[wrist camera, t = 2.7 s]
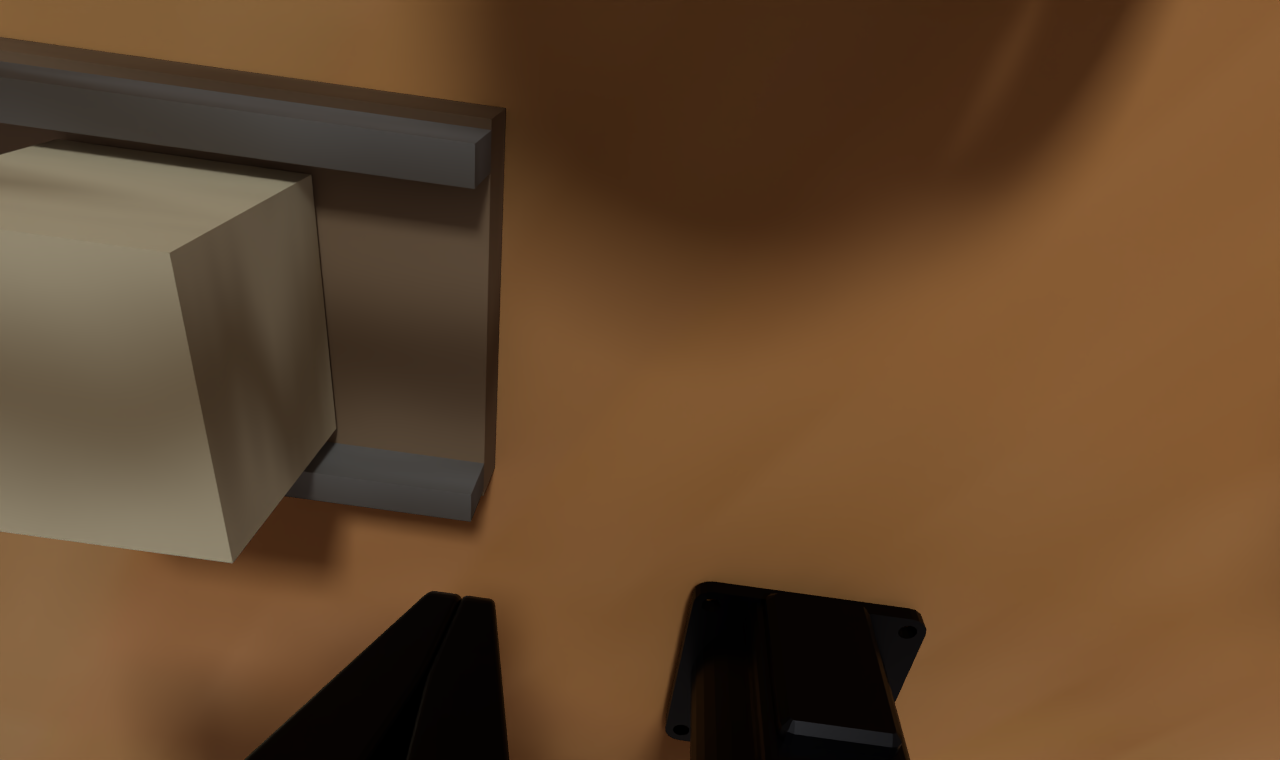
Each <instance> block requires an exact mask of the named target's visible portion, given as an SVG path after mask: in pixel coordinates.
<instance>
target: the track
mask: <svg viewBox="0 0 1280 760" xmlns="http://www.w3.org/2000/svg"><path fill="white" fill-rule="evenodd" d="M505 120H506V108H501V107H494V106H487V105H480V104H473V103H465V102H458V101H451V100H444V99H437V98H430V97H423V96H416V95H408V94H401V93H394V92H387V91H380V90H373V89H366V88H359V87H351V86H344V85H337V84H330V83H323V82H316V81H309V80H302V79H295V78H287V77H280V76H273V75H266V74H259V73H252V72H245V71H238V70H230V69H223V68H216V67H209V66H202V65H195V64H188V63H181V62H173V61H166V60H159V59H152V58H145V57H138V56H131V55H124V54H116V53H109V52H102V51H95V50H88V49H81V48H74V47H67V46H59V45H52V44H45V43H38V42H31V41H24V40H17V39H10V38H3V37H0V155H1V154H5V153H8V152H12V151H16V150H19V149H23V148H26V147H30V146H34V145H37V144H41V143H45V142H48V141H52V140H55V139H61V140H68V141H75V142H82V143H89V144H96V145H104V146H111V147H118V148H125V149H132V150H139V151H147V152H154V153H161V154H168V155H175V156H182V157H189V158H197V159H204V160H211V161H218V162H225V163H232V164H240V165H247V166H254V167H261V168H268V169H275V170H282V171H290V172H297V173H304V174H311V176H312V186H313V197H314V207H315V217H316V227H317V237H318V248H319V258H320V268H321V278H322V288H323V299H324V309H325V319H326V329H327V339H328V350H329V360H330V370H331V380H332V390H333V400H334V411H335V421H336V430H335V431H334V432H333V433H332V435H331V436H330V437H329V439H328V440H327V441H326V443H325V444H324V445H323V446H322V448H321V449H320V450H319V452H318V453H317V454H316V456H315V457H314V458H313V459H312V461H311V462H310V463H309V465H308V466H307V467H306V469H305V470H304V471H303V472H302V474H301V475H300V476H299V478H298V479H297V480H296V482H295V483H294V484H293V485H292V487H291V488H290V489H289V491H288V492H287V493H286V495H285V496H288V497H295V498H302V499H310V500H317V501H324V502H331V503H339V504H346V505H353V506H360V507H368V508H375V509H382V510H390V511H397V512H404V513H411V514H419V515H426V516H433V517H440V518H448V519H455V520H462V521H469V522H471V520H472V517H473V515H474V512H475V510H476V507H477V505H478V502H479V500H480V497H481V496H484V493H485V491H486V488H487V486H488V483H489V481H490V478H491V476H492V473H493V470H494V468H495V444H496V412H497V379H498V347H499V315H500V282H501V250H502V217H503V185H504V152H505Z"/></svg>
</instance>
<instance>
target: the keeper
mask: <svg viewBox="0 0 1280 760" xmlns="http://www.w3.org/2000/svg"><path fill="white" fill-rule="evenodd" d="M335 430H336V421H335V411H334V400H333V390H332V380H331V370H330V360H329V350H328V339H327V329H326V319H325V309H324V299H323V288H322V278H321V268H320V258H319V248H318V237H317V227H316V217H315V207H314V197H313V186H312V176H311V174H304V173H297V172H290V171H282V170H275V169H268V168H261V167H254V166H247V165H240V164H232V163H225V162H218V161H211V160H204V159H197V158H189V157H182V156H175V155H168V154H161V153H154V152H147V151H139V150H132V149H125V148H118V147H111V146H104V145H96V144H89V143H82V142H75V141H68V140H61V139H55V140H52V141H48V142H45V143H41V144H37V145H34V146H30V147H26V148H23V149H19V150H16V151H12V152H8V153H5V154H1V155H0V531H1V532H8V533H16V534H23V535H30V536H37V537H45V538H52V539H59V540H67V541H74V542H81V543H89V544H96V545H103V546H110V547H118V548H125V549H132V550H140V551H147V552H154V553H162V554H169V555H176V556H183V557H191V558H198V559H205V560H213V561H220V562H227V563H233V562H234V561H235V560H236V558H237V557H238V556H239V554H240V553H241V552H242V550H243V549H244V548H245V547H246V545H247V544H248V543H249V541H250V540H251V539H252V537H253V536H254V535H255V534H256V532H257V531H258V530H259V528H260V527H261V526H262V524H263V523H264V522H265V521H266V519H267V518H268V517H269V515H270V514H271V513H272V511H273V510H274V509H275V508H276V506H277V505H278V504H279V502H280V501H281V500H282V498H283V497H284V496H285V495H286V493H287V492H288V491H289V489H290V488H291V487H292V485H293V484H294V483H295V482H296V480H297V479H298V478H299V476H300V475H301V474H302V472H303V471H304V470H305V469H306V467H307V466H308V465H309V463H310V462H311V461H312V459H313V458H314V457H315V456H316V454H317V453H318V452H319V450H320V449H321V448H322V446H323V445H324V444H325V443H326V441H327V440H328V439H329V437H330V436H331V435H332V433H333V432H334V431H335Z"/></svg>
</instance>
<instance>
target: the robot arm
mask: <svg viewBox="0 0 1280 760" xmlns="http://www.w3.org/2000/svg"><path fill="white" fill-rule="evenodd" d="M706 599H715V601H707V600H706ZM904 626H908V627H904ZM925 635H926V627H925V625H924V622H923V619H922V616H921V614H920V613H918V612H917V611H916V610H913V609H909V608H902V607H894V606H887V605H880V604H873V603H865V602H858V601H851V600H844V599H836V598H829V597H822V596H814V595H807V594H800V593H793V592H785V591H778V590H771V589H763V588H756V587H749V586H742V585H734V584H727V583H720V582H704V583H701V584H699V585H698V586H697V587H695V589H694V591H693V595H692V599H691V604H690V608H689V613H688V618H687V622H686V627H685V631H684V636H683V640H682V645H681V650H680V654H679V659H678V663H677V668H676V672H675V677H674V682H673V686H672V691H671V695H670V700H669V704H668V709H667V714H666V726H665V729H666V733H667V734H668V736H670V737H672V738H674V739H677V740H683V741H690V760H910V757H909V754H908V750H907V746H906V743H905V739H904V735H903V732H902V728H901V724H900V721H899V717H898V713H897V710H896V706H895V701H896V699H897V697H898V694H899V692H900V690H901V688H902V686H903V683H904V681H905V679H906V677H907V675H908V672H909V670H910V668H911V666H912V664H913V661H914V659H915V657H916V655H917V652H918V650H919V648H920V646H921V644H922V641H923V639H924V637H925ZM244 760H509V752H508V741H507V730H506V719H505V708H504V697H503V686H502V675H501V664H500V653H499V642H498V631H497V620H496V609H495V603H494V601H493V600H492V599H488V598H481V597H473V596H465V597H463V598H461V597H460V596H459V595H457V594H452V593H445V592H438V591H431V592H429V593H427V594H426V595H424V596H423V597H422V598H421V599H420V600H419V601H418V602H417V603H416V604H415V605H413V606H412V607H411V608H410V609H409V610H408V611H407V612H406V613H405V614H404V615H402V616H401V617H400V618H399V619H398V620H397V621H396V622H395V623H394V624H393V625H391V626H390V627H389V628H388V629H387V630H386V631H385V632H384V633H383V634H382V635H381V636H379V637H378V638H377V639H376V640H375V641H374V642H373V643H372V644H371V645H370V646H368V647H367V648H366V649H365V650H364V651H363V652H362V653H361V654H360V655H359V656H357V657H356V658H355V659H354V660H353V661H352V662H351V663H350V664H349V665H348V666H346V667H345V668H344V669H343V670H342V671H341V672H340V673H339V674H338V675H337V676H336V677H334V678H333V679H332V680H331V681H330V682H329V683H328V684H327V685H326V686H325V687H323V688H322V689H321V690H320V691H319V692H318V693H317V694H316V695H315V696H314V697H312V698H311V699H310V700H309V701H308V702H307V703H306V704H305V705H304V706H303V707H301V708H300V709H299V710H298V711H297V712H296V713H295V714H294V715H293V716H292V717H291V718H289V719H288V720H287V721H286V722H285V723H284V724H283V725H282V726H281V727H280V728H278V729H277V730H276V731H275V732H274V733H273V734H272V735H271V736H270V737H269V738H267V739H266V740H265V741H264V742H263V743H262V744H261V745H260V746H259V747H258V748H257V749H255V750H254V751H253V752H252V753H251V754H250V755H249V756H248V757H247V758H246V759H244Z"/></svg>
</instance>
